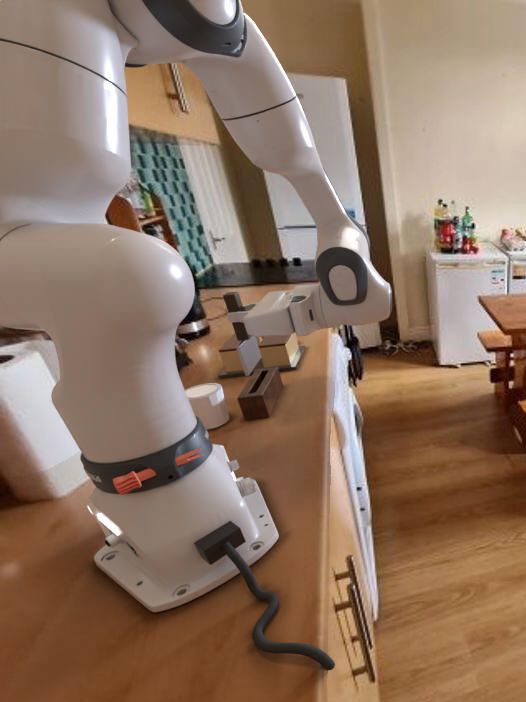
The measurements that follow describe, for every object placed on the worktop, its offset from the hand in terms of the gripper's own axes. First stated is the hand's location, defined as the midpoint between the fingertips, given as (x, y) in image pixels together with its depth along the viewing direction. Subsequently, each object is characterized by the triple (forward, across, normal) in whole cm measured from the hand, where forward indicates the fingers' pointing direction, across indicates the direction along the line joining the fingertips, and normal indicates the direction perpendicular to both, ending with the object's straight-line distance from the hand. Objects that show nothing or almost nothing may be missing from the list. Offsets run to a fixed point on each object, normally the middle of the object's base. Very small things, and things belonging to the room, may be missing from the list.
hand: (231, 314), depth 80 cm
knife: (-1, 0, +11) cm, 11 cm away
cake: (+4, -24, +19) cm, 31 cm away
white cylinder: (+7, +6, +20) cm, 22 cm away
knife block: (-1, 0, +19) cm, 19 cm away
